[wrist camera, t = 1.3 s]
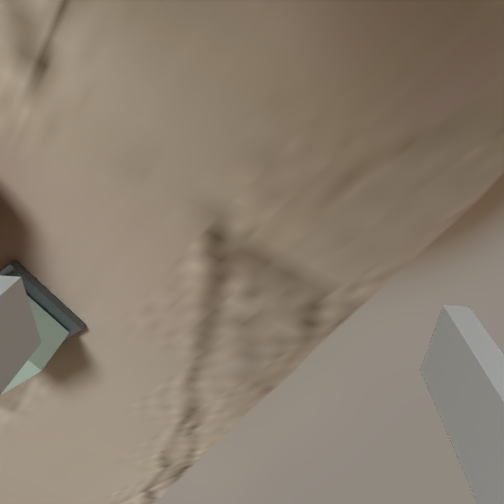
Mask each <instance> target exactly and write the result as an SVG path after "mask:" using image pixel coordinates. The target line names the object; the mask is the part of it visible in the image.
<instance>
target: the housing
mask: <svg viewBox="0 0 504 504" xmlns="http://www.w3.org/2000/svg"><path fill="white" fill-rule="evenodd" d="M27 297H28V301H29V304H30V307H31V310H32V314H33V317H34V320H35V323H36V327H37V330H38V333H39V336H40V339H41V344H40V345H39V347H38V348H37V349H36V350H35V352H34V353H33V354H32V355H31V357H30V358H29V359H28V361H27V362H26V363H25V364H24V366H23V367H22V368H21V369H20V371H19V372H18V373H17V375H16V376H15V377H14V378H13V380H12V381H11V382H10V383H9V385H8V386H7V387H6V388H5V390H4V391H3V392H2V394H3V393H5V392H6V391H8V390H10V389H12V388H13V387H15V386H17V385H18V384H20V383H22V382H23V381H25V380H27V379H29V378H30V377H32V376H34V375H35V374H37V373H39V372H40V371H42V370H43V368H44V367H45V365H46V364H47V363H48V361H49V360H50V359H51V357H52V356H53V355H54V353H55V352H56V350H57V349H58V348H59V346H60V345H61V344H62V342H63V341H64V340H65V338H66V337H67V335H68V334H69V332H68V331H67V330H66V329H65V328H64V327H62V326H61V325H60V324H59V323H58V322H57V321H56V320H55V319H53V318H52V317H51V316H50V315H49V314H48V313H47V312H46V311H44V310H43V309H42V308H41V307H40V306H39V305H38V304H37V303H36V302H34V301H33V300H32V299H31V298H30V297H29V296H28V295H27Z"/></svg>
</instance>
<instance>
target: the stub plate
mask: <svg viewBox="0 0 504 504" xmlns="http://www.w3.org/2000/svg"><path fill="white" fill-rule="evenodd" d="M0 275H1V276H16V277H21V278H22V281H23V285H24V288H25V291H26V294H27V295H28V296H29V297H30V298H31V299H32V300H33V301H34V302H36V303H37V304H38V305H39V306H40V307H41V308H42V309H43V310H44V311H46V312H47V313H48V314H49V315H50V316H51V317H52V318H53V319H55V320H56V321H57V322H58V323H59V324H60V325H61V326H62V327H64V328H65V329H66V330H67V331H68V332H69V334H68V335H67V337H66V338H65V340H66V339H68V338H70V337H71V336H73V335H75V334H76V333H78V332H79V331H81V330H82V329H83V328H84V326H85V325H86V324H85V323H84V322H82V321H81V320H80V319H79V318H78V317H77V316H76V315H75V314H74V313H73V312H72V311H70V310H69V309H68V308H67V307H66V306H65V305H64V304H63V303H62V302H61V301H60V300H59V299H57V298H56V297H55V296H54V295H53V294H52V293H51V292H50V291H49V290H48V289H47V288H45V287H44V286H43V285H42V284H41V283H40V282H39V281H38V280H37V279H36V278H35V277H34V276H32V275H31V274H30V273H29V272H28V271H27V270H26V269H25V268H24V267H23V266H22V265H20V264H19V263H18V262H17V261H16V260H15V261H13V262H12V263H11V264H9V265H8V266H7V267H5V268H4V269H3V270H1V271H0ZM65 340H64V341H65Z"/></svg>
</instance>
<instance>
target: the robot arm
mask: <svg viewBox="0 0 504 504" xmlns="http://www.w3.org/2000/svg"><path fill="white" fill-rule="evenodd" d="M40 344H41V339H40V336H39V333H38V330H37V327H36V323H35V320H34V317H33V314H32V310H31V307H30V304H29V301H28V297H27V294H26V291H25V288H24V285H23V281H22V278H21V277H16V276H1V275H0V395H1V394H2V392H3V391H4V390H5V388H6V387H7V386H8V385H9V383H10V382H11V381H12V380H13V378H14V377H15V376H16V375H17V373H18V372H19V371H20V369H21V368H22V367H23V366H24V364H25V363H26V362H27V361H28V359H29V358H30V357H31V355H32V354H33V353H34V352H35V350H36V349H37V348H38V347H39V345H40ZM420 371H421V373H422V376H423V378H424V380H425V383H426V385H427V387H428V390H429V392H430V394H431V397H432V399H433V401H434V404H435V406H436V408H437V411H438V413H439V415H440V418H441V420H442V422H443V424H444V427H445V429H446V432H447V434H448V436H449V439H450V441H451V443H452V446H453V448H454V450H455V453H456V455H457V457H458V460H459V461H460V464H461V467H462V469H463V471H464V474H465V476H466V478H467V481H468V483H469V485H470V488H471V490H472V492H473V494H474V497H475V499H476V501H477V504H504V355H503V354H502V352H501V351H500V349H499V348H498V347H497V345H496V344H495V342H494V341H493V340H492V338H491V337H490V335H489V334H488V333H487V331H486V330H485V328H484V327H483V326H482V324H481V323H480V321H479V320H478V319H477V317H476V316H475V315H474V313H473V312H472V310H471V309H470V307H468V306H453V305H443V307H442V309H441V312H440V315H439V318H438V321H437V324H436V327H435V329H434V332H433V335H432V338H431V341H430V344H429V347H428V349H427V352H426V355H425V358H424V361H423V363H422V366H421V369H420Z"/></svg>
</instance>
